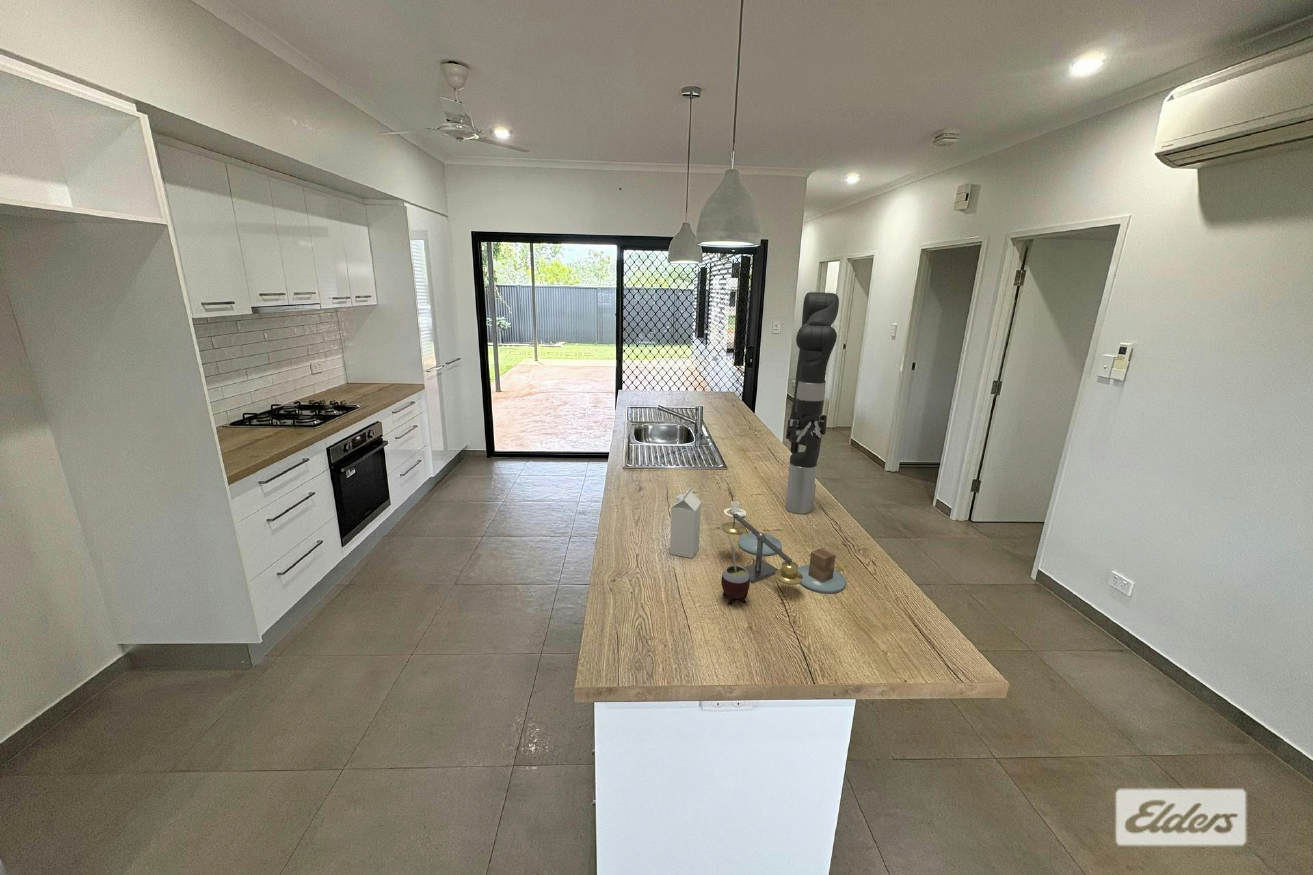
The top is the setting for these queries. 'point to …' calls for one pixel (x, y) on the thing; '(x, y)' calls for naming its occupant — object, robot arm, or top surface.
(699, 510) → the milk carton
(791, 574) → the balance
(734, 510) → the teacup and saucer
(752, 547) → the pale blue flat disc
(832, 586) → the dish
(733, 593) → the mate gourd
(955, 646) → the top surface
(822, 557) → the walnut block
